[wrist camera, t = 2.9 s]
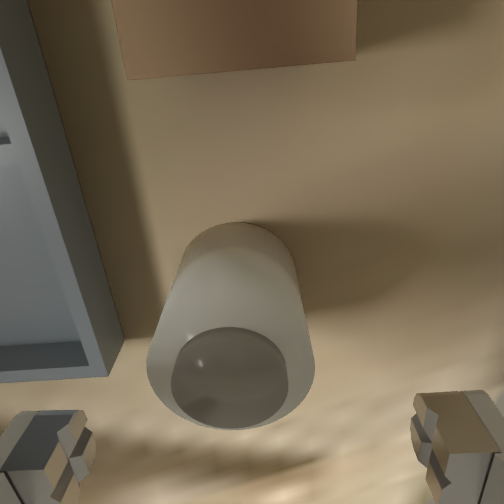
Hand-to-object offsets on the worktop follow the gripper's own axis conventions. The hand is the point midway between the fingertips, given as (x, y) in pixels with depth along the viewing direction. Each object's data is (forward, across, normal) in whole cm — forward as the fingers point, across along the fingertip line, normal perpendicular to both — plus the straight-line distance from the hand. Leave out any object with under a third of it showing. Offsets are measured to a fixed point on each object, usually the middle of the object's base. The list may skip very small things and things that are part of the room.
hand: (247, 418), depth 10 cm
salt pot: (+7, +1, 0) cm, 7 cm away
